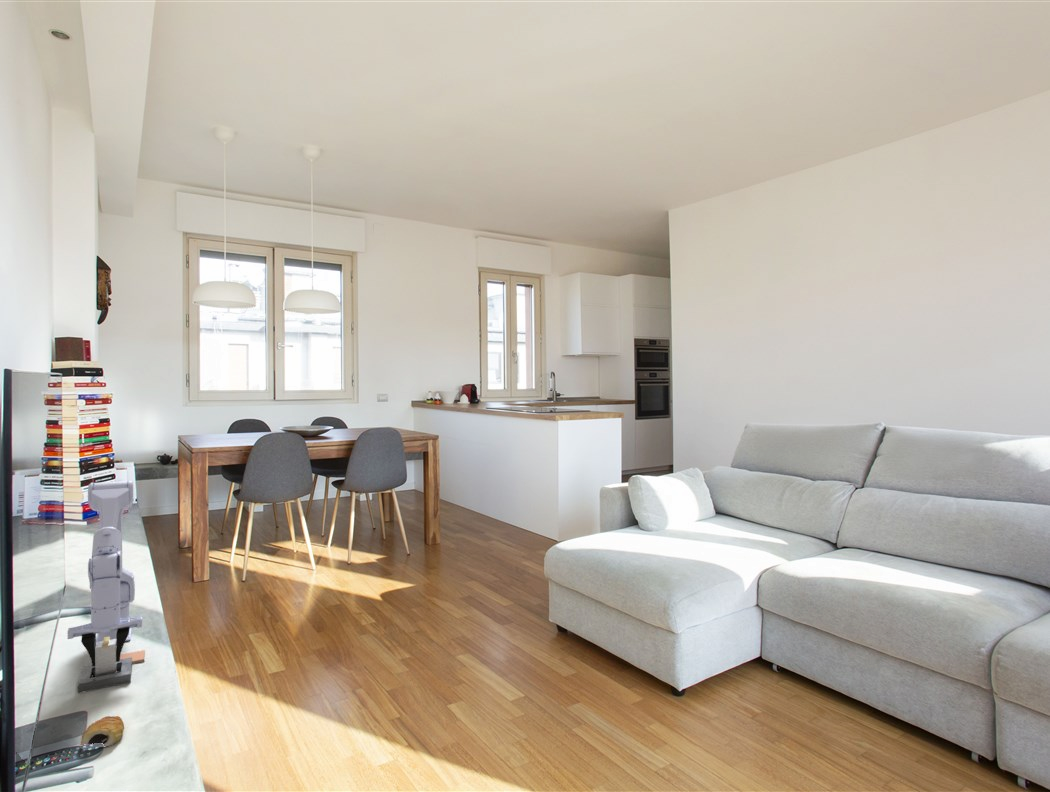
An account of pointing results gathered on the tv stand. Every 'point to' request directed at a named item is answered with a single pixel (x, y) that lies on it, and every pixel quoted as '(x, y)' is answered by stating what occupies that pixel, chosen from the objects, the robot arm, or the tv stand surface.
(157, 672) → the tv stand surface
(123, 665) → the charcoal socket
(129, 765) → the tv stand surface
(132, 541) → the tv stand surface
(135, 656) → the terracotta pad
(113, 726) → the pastry
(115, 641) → the steel key
